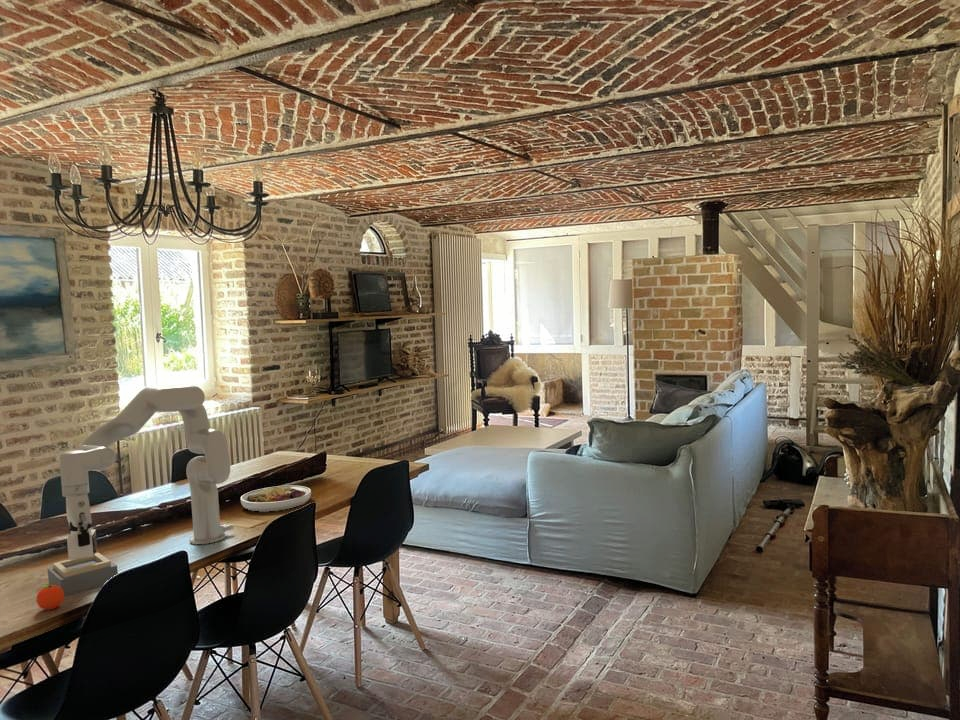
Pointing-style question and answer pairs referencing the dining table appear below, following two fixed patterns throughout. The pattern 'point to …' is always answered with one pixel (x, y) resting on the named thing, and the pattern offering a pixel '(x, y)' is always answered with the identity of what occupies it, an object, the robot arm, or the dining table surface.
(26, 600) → the dining table surface
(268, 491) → the bowl
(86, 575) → the block
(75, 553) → the medicine bottle
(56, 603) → the clementine
